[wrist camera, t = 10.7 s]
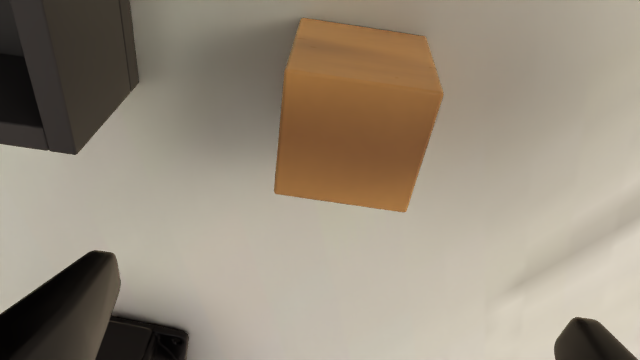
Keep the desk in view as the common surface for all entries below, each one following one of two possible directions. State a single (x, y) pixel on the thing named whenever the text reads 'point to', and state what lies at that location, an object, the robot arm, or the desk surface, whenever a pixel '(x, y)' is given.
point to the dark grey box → (63, 70)
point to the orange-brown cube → (355, 115)
